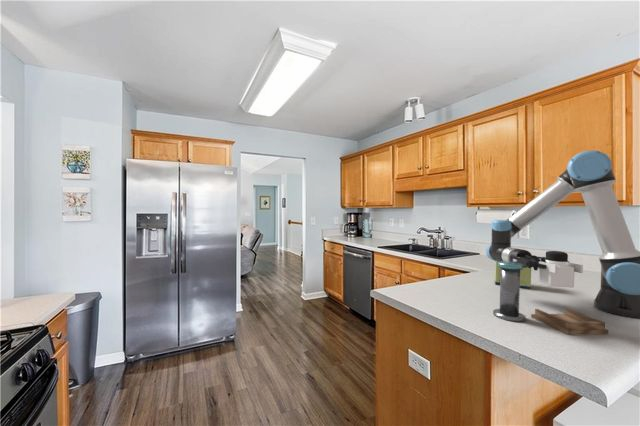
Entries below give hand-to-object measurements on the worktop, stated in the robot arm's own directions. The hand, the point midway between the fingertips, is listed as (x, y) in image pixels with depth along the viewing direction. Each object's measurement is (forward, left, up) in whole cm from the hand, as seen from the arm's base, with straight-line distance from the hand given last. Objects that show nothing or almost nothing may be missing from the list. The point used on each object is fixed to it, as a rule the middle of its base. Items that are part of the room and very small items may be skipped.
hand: (569, 269), depth 93 cm
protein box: (-22, -51, -20) cm, 59 cm away
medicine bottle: (0, -5, -7) cm, 8 cm away
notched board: (-1, -1, -20) cm, 20 cm away
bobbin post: (+14, -9, -20) cm, 26 cm away
